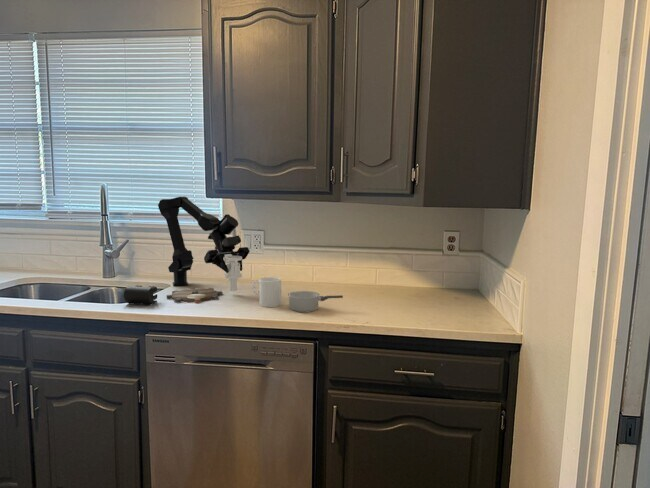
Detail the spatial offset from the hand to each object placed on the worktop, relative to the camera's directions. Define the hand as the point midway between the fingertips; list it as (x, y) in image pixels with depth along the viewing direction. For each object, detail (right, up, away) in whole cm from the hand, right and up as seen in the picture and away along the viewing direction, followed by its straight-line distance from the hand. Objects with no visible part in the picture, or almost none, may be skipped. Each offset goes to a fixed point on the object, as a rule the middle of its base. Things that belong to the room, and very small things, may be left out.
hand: (234, 271), depth 178 cm
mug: (+14, -12, -11) cm, 21 cm away
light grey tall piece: (-1, -8, +2) cm, 8 cm away
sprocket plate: (-16, -10, -1) cm, 19 cm away
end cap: (-33, -12, -13) cm, 37 cm away
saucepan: (+33, -13, -17) cm, 40 cm away
